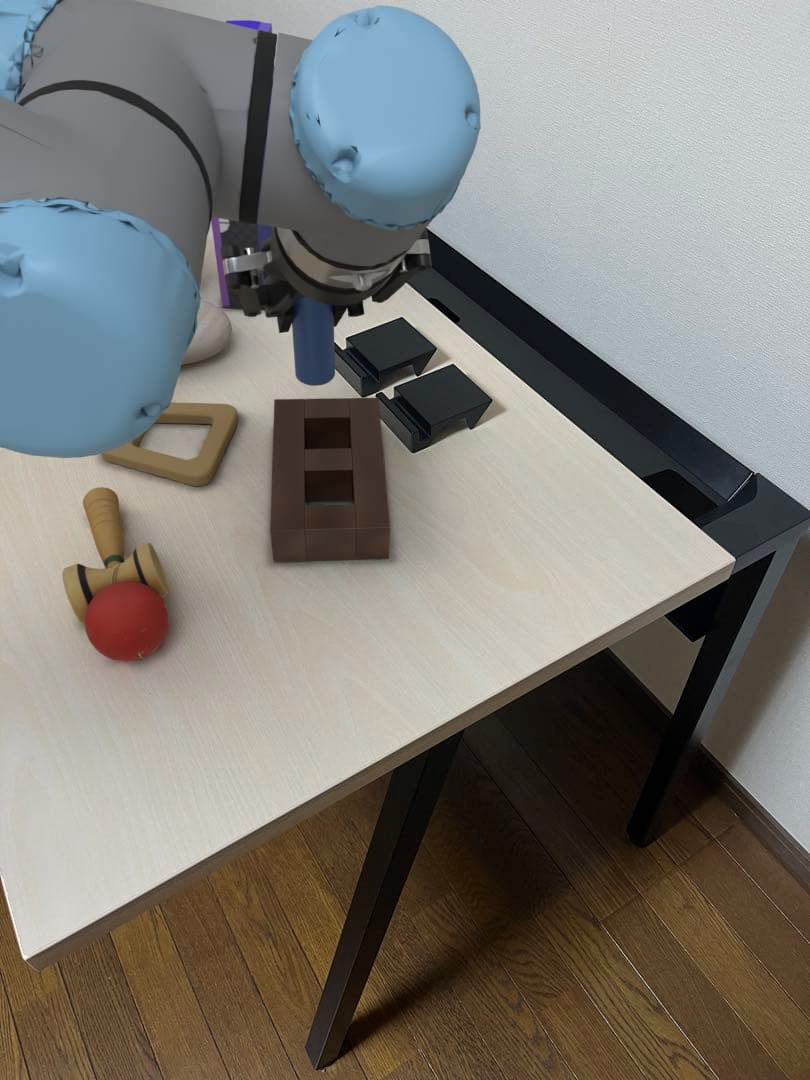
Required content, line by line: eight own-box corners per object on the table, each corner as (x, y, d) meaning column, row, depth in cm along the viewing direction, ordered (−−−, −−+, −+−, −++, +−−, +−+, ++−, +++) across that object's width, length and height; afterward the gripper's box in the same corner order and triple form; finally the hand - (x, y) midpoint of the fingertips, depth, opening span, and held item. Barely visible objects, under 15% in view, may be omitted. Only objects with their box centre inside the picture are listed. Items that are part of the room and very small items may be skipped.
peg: (295, 386, 69) (285, 248, 60) (295, 361, 71) (286, 224, 63) (335, 385, 70) (332, 248, 61) (334, 361, 72) (331, 225, 63)
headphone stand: (209, 489, 79) (171, 272, 63) (93, 472, 80) (25, 254, 64) (241, 415, 86) (215, 203, 70) (134, 400, 87) (83, 187, 71)
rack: (273, 562, 74) (270, 530, 71) (277, 431, 85) (274, 399, 82) (388, 559, 75) (390, 527, 72) (377, 429, 86) (378, 397, 83)
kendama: (53, 538, 76) (77, 686, 64) (47, 478, 73) (71, 622, 60) (144, 528, 79) (185, 668, 67) (143, 470, 76) (185, 606, 63)
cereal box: (247, 229, 110) (226, 18, 92) (285, 232, 110) (271, 21, 92) (222, 307, 99) (193, 83, 81) (264, 310, 99) (244, 86, 81)
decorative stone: (226, 321, 97) (221, 282, 93) (241, 370, 91) (237, 329, 87) (107, 339, 94) (97, 298, 90) (115, 390, 88) (105, 349, 84)
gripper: (204, 307, 46) (211, 371, 69) (494, 277, 50) (409, 348, 73) (181, 164, 46) (195, 276, 69) (475, 142, 49) (395, 256, 72)
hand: (305, 312), depth 71 cm, fingers closed on peg, 3 cm apart
